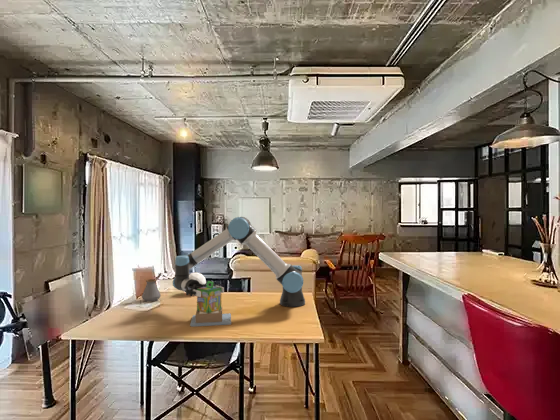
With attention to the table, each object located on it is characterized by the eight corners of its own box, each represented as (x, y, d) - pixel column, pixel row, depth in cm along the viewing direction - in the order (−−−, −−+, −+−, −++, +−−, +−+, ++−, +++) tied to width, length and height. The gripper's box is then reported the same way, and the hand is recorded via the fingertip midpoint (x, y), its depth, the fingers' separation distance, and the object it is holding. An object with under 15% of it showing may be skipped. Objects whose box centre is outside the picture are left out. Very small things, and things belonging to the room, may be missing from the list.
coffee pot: (156, 302, 243) (155, 278, 243) (138, 302, 245) (137, 278, 244) (169, 295, 264) (169, 272, 264) (153, 294, 266) (153, 272, 266)
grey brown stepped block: (230, 315, 213) (230, 305, 213) (231, 324, 197) (231, 313, 197) (192, 317, 210) (192, 307, 210) (190, 326, 194) (190, 315, 194)
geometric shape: (200, 300, 271) (213, 281, 274) (192, 296, 257) (205, 277, 260) (185, 288, 276) (198, 270, 279) (176, 284, 262) (190, 266, 265)
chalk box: (196, 310, 202) (196, 281, 202) (210, 307, 210) (209, 279, 210) (208, 313, 197) (208, 283, 197) (222, 309, 204) (221, 281, 204)
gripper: (210, 289, 225) (232, 295, 209) (170, 296, 208) (190, 303, 193) (210, 276, 225) (232, 281, 209) (169, 282, 208) (189, 288, 192)
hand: (212, 292), depth 201 cm, fingers open, 13 cm apart
